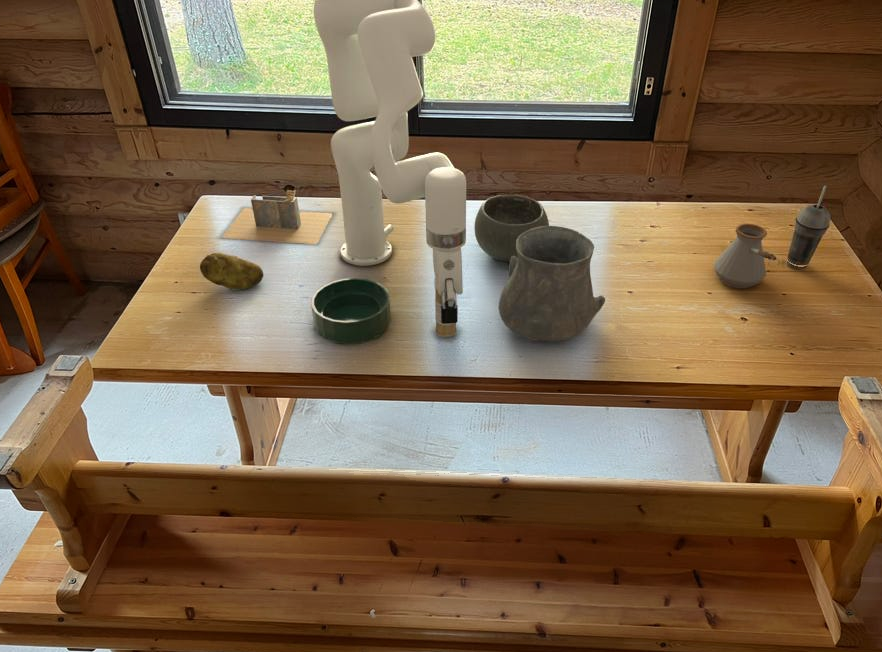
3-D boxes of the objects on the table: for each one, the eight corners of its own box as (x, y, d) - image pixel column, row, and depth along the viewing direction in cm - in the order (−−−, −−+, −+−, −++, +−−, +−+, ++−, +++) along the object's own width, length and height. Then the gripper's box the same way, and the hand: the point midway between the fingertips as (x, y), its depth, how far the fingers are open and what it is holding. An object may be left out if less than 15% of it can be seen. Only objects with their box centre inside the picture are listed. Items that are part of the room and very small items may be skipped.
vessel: (609, 358, 139) (625, 273, 126) (499, 356, 139) (504, 272, 126) (593, 297, 155) (606, 217, 142) (495, 295, 156) (499, 216, 143)
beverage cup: (779, 269, 164) (807, 192, 151) (780, 254, 169) (807, 178, 157) (812, 275, 162) (843, 197, 149) (812, 260, 167) (842, 184, 154)
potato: (254, 298, 155) (247, 268, 150) (200, 292, 156) (192, 262, 151) (268, 278, 161) (262, 248, 156) (216, 273, 163) (209, 243, 158)
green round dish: (328, 297, 155) (325, 274, 151) (398, 304, 153) (397, 281, 149) (304, 341, 143) (300, 317, 139) (380, 349, 141) (378, 326, 137)
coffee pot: (705, 265, 166) (721, 208, 156) (754, 266, 165) (773, 210, 155) (727, 317, 149) (747, 258, 140) (781, 319, 149) (805, 260, 139)
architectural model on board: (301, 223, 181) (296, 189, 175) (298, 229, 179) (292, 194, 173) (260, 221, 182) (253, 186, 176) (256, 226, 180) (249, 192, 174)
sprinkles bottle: (452, 323, 147) (452, 270, 139) (459, 335, 144) (460, 281, 136) (432, 328, 146) (431, 274, 138) (439, 340, 143) (438, 286, 134)
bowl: (528, 231, 178) (532, 186, 170) (558, 267, 165) (564, 219, 157) (463, 242, 174) (464, 196, 166) (489, 279, 161) (491, 231, 153)
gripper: (471, 256, 124) (470, 332, 135) (460, 212, 137) (459, 284, 148) (430, 258, 123) (432, 335, 134) (422, 214, 137) (425, 287, 147)
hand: (446, 308), depth 141 cm, fingers open, 9 cm apart
